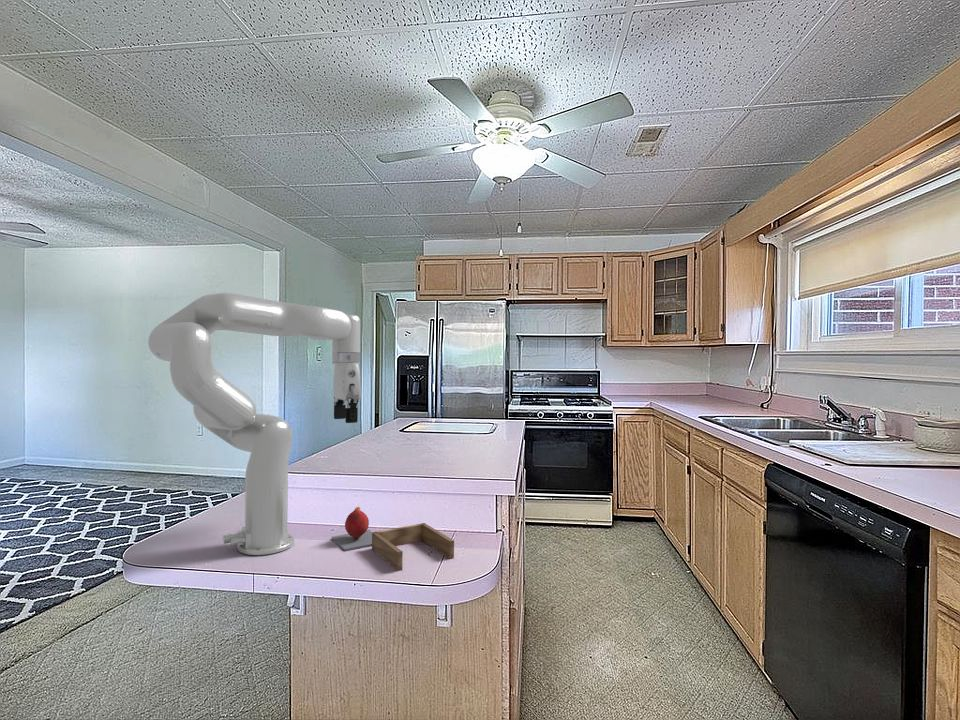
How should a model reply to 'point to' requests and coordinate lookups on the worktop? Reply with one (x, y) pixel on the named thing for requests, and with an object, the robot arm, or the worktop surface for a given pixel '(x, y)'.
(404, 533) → the tan u-shaped frame
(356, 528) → the onion
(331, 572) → the worktop surface
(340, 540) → the mat
